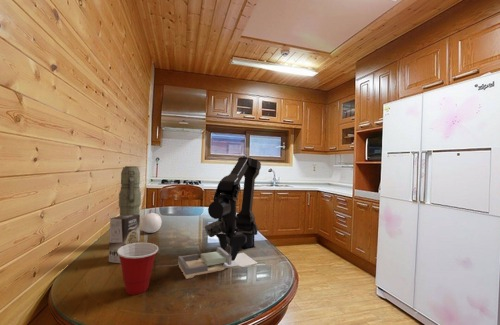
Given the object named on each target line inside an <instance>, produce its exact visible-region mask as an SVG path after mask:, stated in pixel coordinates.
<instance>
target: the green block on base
mask: <svg viewBox="0 0 500 325" xmlns="http://www.w3.org/2000/svg"><path fill="white" fill-rule="evenodd" d="M230 255H231V254H230V253H228V252H227V251H226V250H225V251H224V250H223V249H222V248H221V247H220V245H219V246H216V251H212V252H205V253H200V258H201V260H202V261H203V262H204V263H205V265H206V264H207V265H208V267H210V266H211V265H215V264H222V265H223V264H224V263H227V264H228V265H231V261H232V256H230Z"/></svg>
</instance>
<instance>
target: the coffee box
mask: <svg viewBox="0 0 500 325" xmlns="http://www.w3.org/2000/svg"><path fill="white" fill-rule="evenodd" d="M140 218H141V215H140V214H139V215H135V214H126V215H122V216H120V215H119V216H114V217H110V218H109V244H108V245H109V247H108V262H109V263H114V264H115V263H116V264H121V262H120V257H119V255H118V253H117V251H118V249H119V248H120V247H122V246H125V245H127V244H132V243H139V242H140V239H139V228H140V226H141V220H140Z"/></svg>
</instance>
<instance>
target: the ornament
mask: <svg viewBox="0 0 500 325" xmlns="http://www.w3.org/2000/svg"><path fill="white" fill-rule="evenodd" d="M162 223H163V222H162V216H160V215H159V214H158V213H156V212H153V209H149V212H148V213H146V214H144V215H143V216H142V217H141V220H140V229H142V231H143V232H145V233H147V234H151V233H152V234H153V233H155V232H157V231H159V230H160V228H161V227H162Z"/></svg>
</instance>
